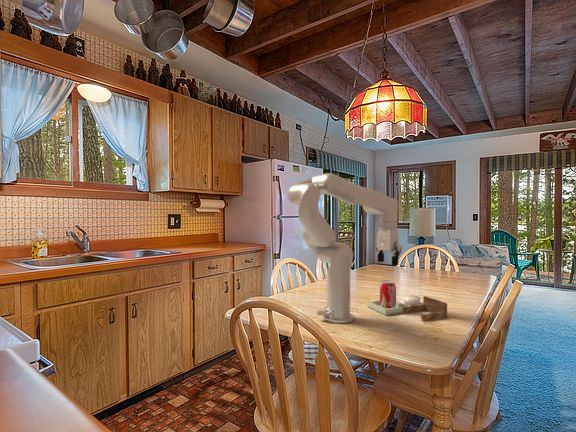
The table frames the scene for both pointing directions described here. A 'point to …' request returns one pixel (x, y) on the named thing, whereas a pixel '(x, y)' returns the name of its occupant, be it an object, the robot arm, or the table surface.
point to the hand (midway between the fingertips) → (387, 263)
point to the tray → (390, 311)
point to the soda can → (387, 294)
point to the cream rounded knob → (412, 300)
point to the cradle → (429, 309)
